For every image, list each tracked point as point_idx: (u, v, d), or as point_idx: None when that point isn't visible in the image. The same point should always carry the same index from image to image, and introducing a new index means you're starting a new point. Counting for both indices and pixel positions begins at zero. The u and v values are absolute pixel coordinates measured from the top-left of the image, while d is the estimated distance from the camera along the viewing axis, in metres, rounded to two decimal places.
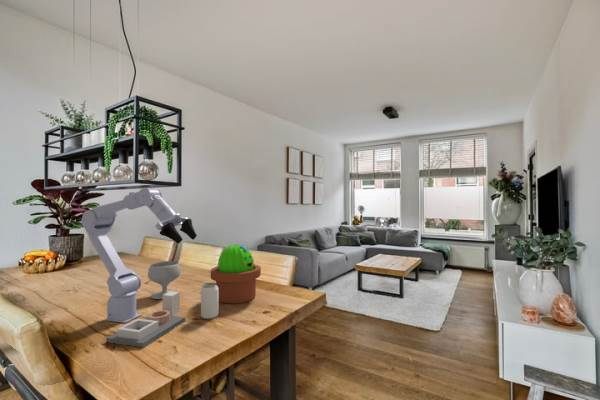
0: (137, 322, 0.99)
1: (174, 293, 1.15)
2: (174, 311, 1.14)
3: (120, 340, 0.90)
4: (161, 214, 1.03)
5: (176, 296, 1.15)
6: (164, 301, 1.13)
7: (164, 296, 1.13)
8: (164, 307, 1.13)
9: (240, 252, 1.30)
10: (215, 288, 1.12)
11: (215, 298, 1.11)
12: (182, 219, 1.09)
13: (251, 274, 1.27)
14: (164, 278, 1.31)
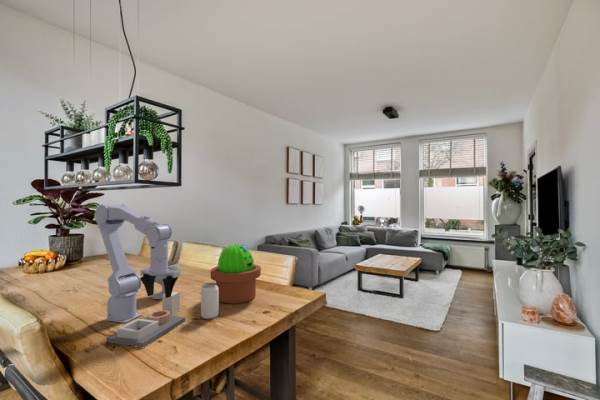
0: (137, 322, 0.99)
1: (174, 293, 1.15)
2: (174, 311, 1.14)
3: (120, 340, 0.90)
4: None
5: (176, 296, 1.15)
6: (164, 301, 1.13)
7: (164, 296, 1.13)
8: (164, 307, 1.13)
9: (240, 252, 1.30)
10: (215, 288, 1.12)
11: (215, 298, 1.11)
12: None
13: (251, 274, 1.27)
14: None
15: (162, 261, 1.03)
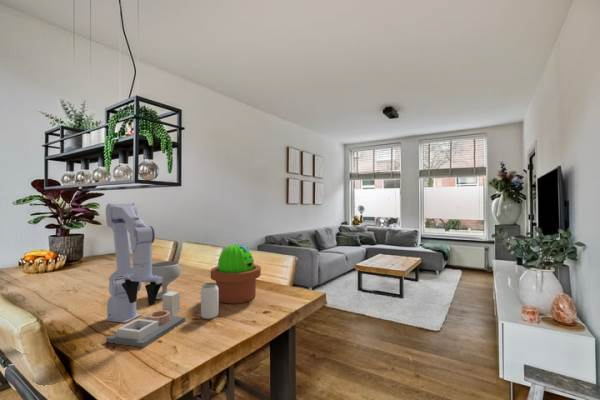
0: (137, 322, 0.99)
1: (174, 293, 1.15)
2: (174, 311, 1.14)
3: (120, 340, 0.90)
4: None
5: (176, 296, 1.15)
6: (164, 301, 1.13)
7: (164, 296, 1.13)
8: (164, 307, 1.13)
9: (240, 252, 1.30)
10: (215, 288, 1.12)
11: (215, 298, 1.11)
12: None
13: (251, 274, 1.27)
14: (164, 278, 1.31)
15: (145, 266, 0.95)
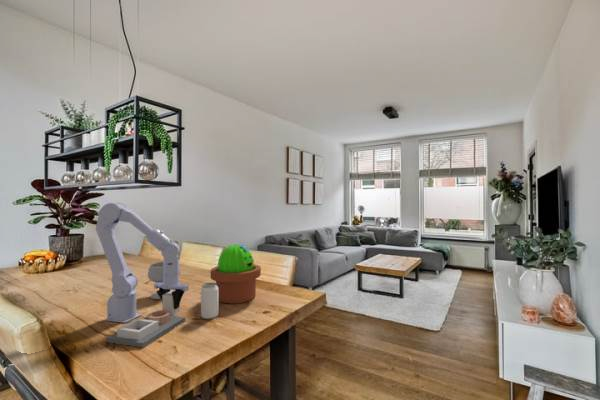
0: (137, 322, 0.99)
1: None
2: (174, 311, 1.14)
3: (120, 340, 0.90)
4: None
5: None
6: (164, 301, 1.13)
7: (164, 296, 1.13)
8: (164, 307, 1.13)
9: (240, 252, 1.30)
10: (215, 288, 1.12)
11: (215, 298, 1.11)
12: None
13: (251, 274, 1.27)
14: None
15: (174, 276, 1.13)
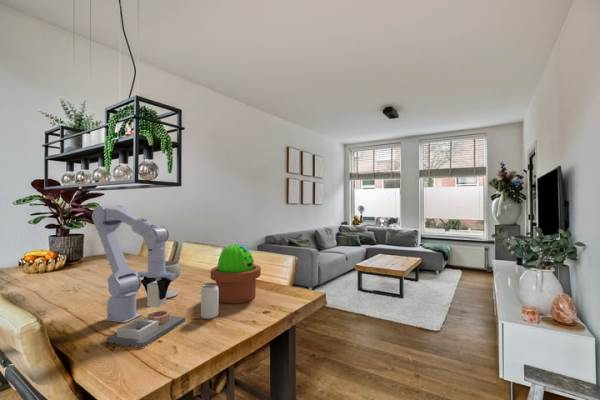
0: (137, 322, 0.99)
1: None
2: (160, 302, 1.04)
3: (120, 340, 0.90)
4: None
5: None
6: (149, 291, 1.04)
7: (149, 285, 1.04)
8: (149, 297, 1.04)
9: (240, 252, 1.30)
10: (215, 288, 1.12)
11: (215, 298, 1.11)
12: None
13: (251, 274, 1.27)
14: None
15: (159, 263, 1.03)
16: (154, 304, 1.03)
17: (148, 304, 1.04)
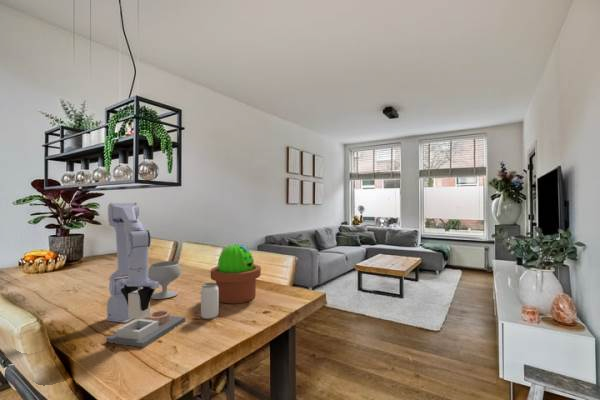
0: (137, 322, 0.99)
1: None
2: (142, 313, 0.94)
3: (120, 340, 0.90)
4: None
5: None
6: (130, 301, 0.94)
7: (130, 295, 0.94)
8: (130, 308, 0.94)
9: (240, 252, 1.30)
10: (215, 288, 1.12)
11: (215, 298, 1.11)
12: None
13: (251, 274, 1.27)
14: (164, 278, 1.31)
15: (141, 271, 0.93)
16: (135, 316, 0.93)
17: (129, 315, 0.94)
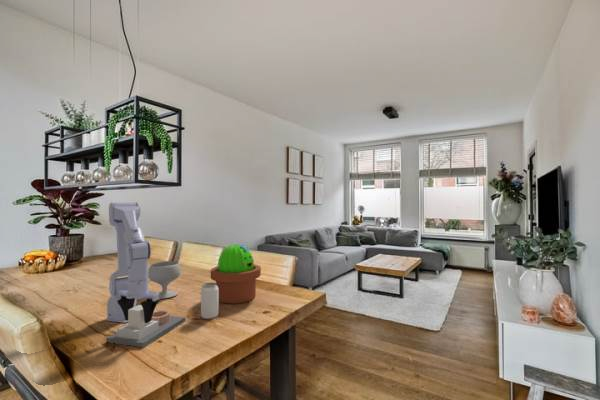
0: None
1: None
2: None
3: (120, 340, 0.90)
4: None
5: None
6: (130, 317, 0.94)
7: (130, 311, 0.94)
8: (130, 324, 0.94)
9: (240, 252, 1.30)
10: (215, 288, 1.12)
11: (215, 298, 1.11)
12: None
13: (251, 274, 1.27)
14: (164, 278, 1.31)
15: (141, 283, 0.93)
16: None
17: None
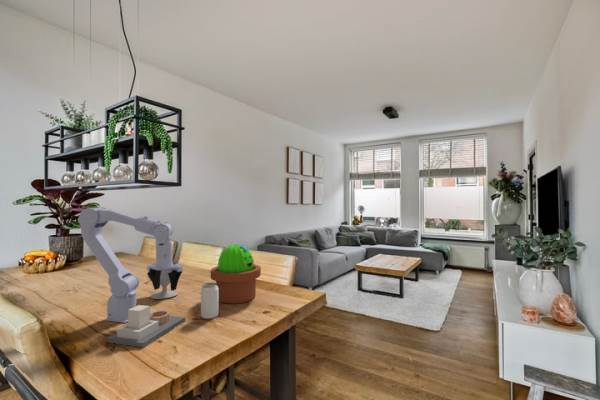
0: None
1: (143, 307, 0.96)
2: None
3: (120, 340, 0.90)
4: None
5: (145, 311, 0.95)
6: (130, 317, 0.94)
7: (130, 311, 0.94)
8: (130, 324, 0.94)
9: (240, 252, 1.30)
10: (215, 288, 1.12)
11: (215, 298, 1.11)
12: None
13: (251, 274, 1.27)
14: (164, 278, 1.31)
15: (167, 257, 1.10)
16: None
17: None
